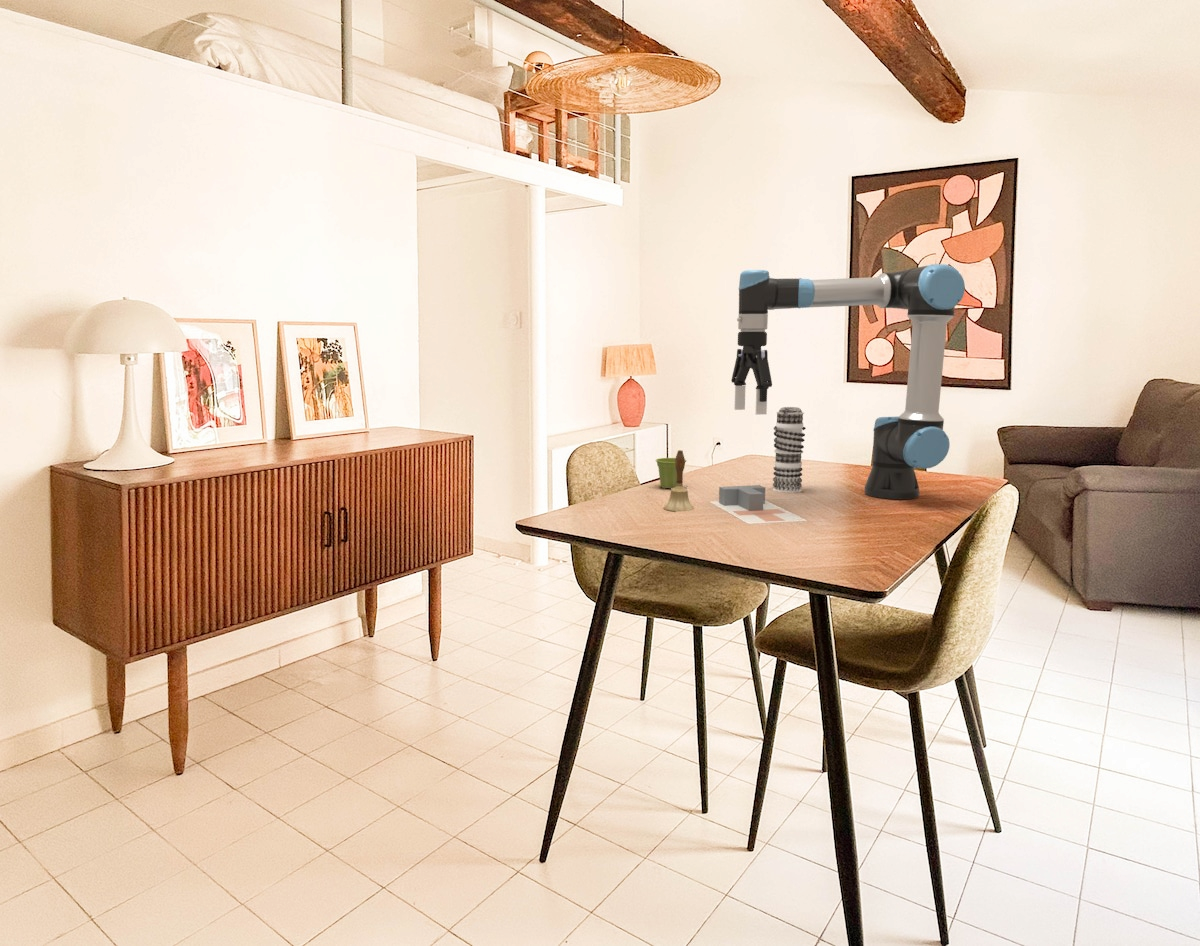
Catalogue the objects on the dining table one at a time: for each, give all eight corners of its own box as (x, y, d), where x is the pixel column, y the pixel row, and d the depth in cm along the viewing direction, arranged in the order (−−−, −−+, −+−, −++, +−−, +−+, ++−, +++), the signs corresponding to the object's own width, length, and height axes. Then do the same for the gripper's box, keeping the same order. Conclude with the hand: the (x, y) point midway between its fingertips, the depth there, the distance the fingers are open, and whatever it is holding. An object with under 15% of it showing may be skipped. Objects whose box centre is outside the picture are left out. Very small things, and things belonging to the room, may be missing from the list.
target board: (762, 499, 237) (762, 499, 237) (807, 521, 210) (807, 520, 210) (709, 502, 234) (709, 501, 234) (748, 524, 207) (748, 523, 207)
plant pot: (649, 486, 259) (650, 458, 257) (676, 483, 262) (676, 456, 261) (664, 491, 250) (665, 462, 249) (691, 489, 254) (692, 460, 253)
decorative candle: (778, 486, 258) (781, 405, 254) (807, 489, 253) (811, 407, 249) (766, 490, 251) (769, 408, 247) (795, 494, 245) (798, 409, 241)
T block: (759, 500, 235) (759, 485, 234) (777, 509, 223) (777, 493, 223) (718, 502, 232) (719, 486, 232) (734, 511, 221) (735, 494, 220)
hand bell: (700, 508, 226) (701, 450, 223) (681, 513, 220) (682, 453, 217) (676, 504, 232) (677, 447, 229) (657, 508, 226) (657, 450, 223)
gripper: (720, 330, 229) (718, 408, 232) (759, 330, 205) (756, 416, 209) (746, 330, 231) (743, 407, 234) (787, 330, 207) (784, 416, 210)
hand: (750, 412), depth 221 cm, fingers open, 13 cm apart
